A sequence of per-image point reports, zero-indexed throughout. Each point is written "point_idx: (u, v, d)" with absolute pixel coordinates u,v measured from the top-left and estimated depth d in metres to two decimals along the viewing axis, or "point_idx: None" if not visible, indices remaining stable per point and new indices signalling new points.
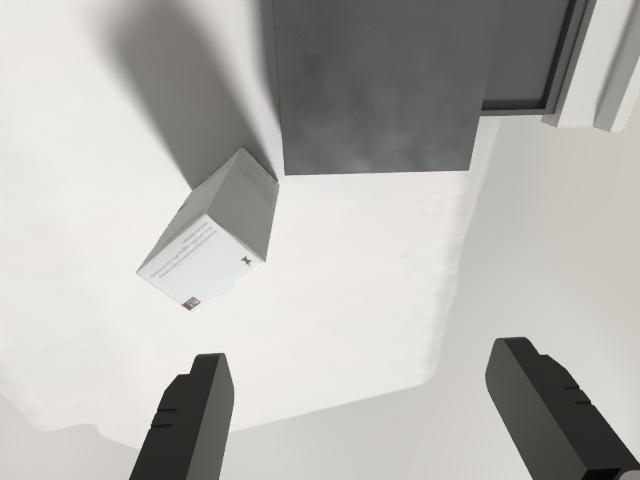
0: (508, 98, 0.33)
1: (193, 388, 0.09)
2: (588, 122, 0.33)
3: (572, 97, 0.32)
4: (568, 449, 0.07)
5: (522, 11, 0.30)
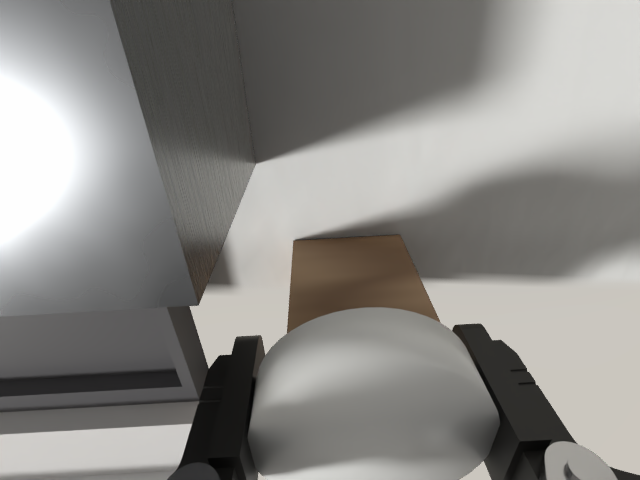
0: None
1: (237, 366, 0.09)
2: None
3: None
4: (506, 424, 0.08)
5: None
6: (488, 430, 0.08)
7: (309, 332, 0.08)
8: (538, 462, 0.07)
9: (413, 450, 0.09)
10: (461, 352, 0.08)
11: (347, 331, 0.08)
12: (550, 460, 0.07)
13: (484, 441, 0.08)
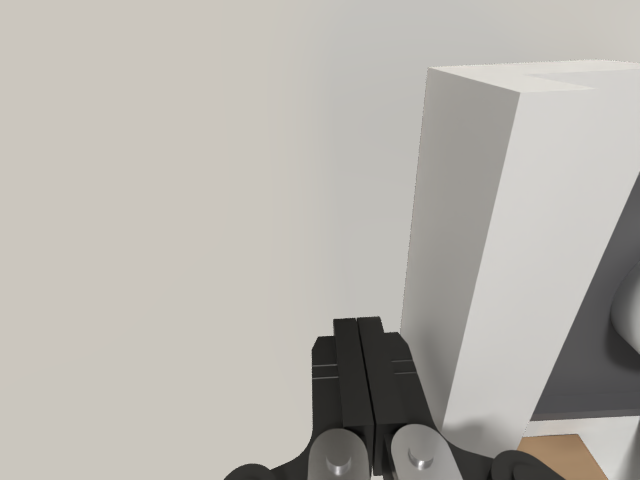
0: None
1: (344, 345, 0.10)
2: None
3: (609, 187, 0.09)
4: (373, 409, 0.08)
5: None
6: None
7: None
8: None
9: None
10: None
11: None
12: (396, 453, 0.07)
13: None
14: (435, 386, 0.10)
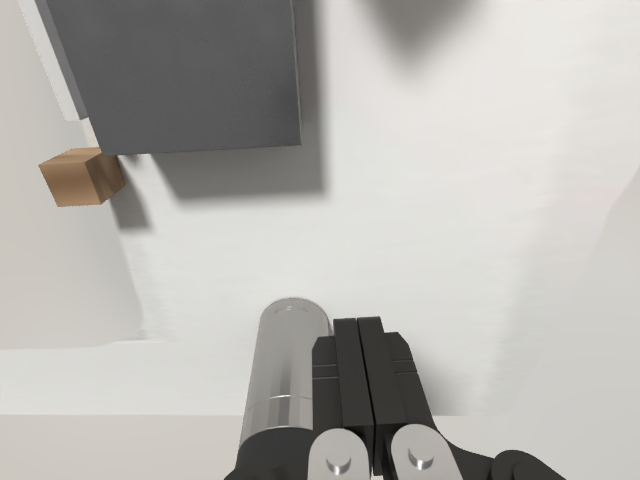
0: None
1: (344, 345, 0.10)
2: None
3: None
4: (373, 409, 0.08)
5: None
6: None
7: None
8: None
9: None
10: None
11: None
12: (396, 454, 0.07)
13: None
14: None
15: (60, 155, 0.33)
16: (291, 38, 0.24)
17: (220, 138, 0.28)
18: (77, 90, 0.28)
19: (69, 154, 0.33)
